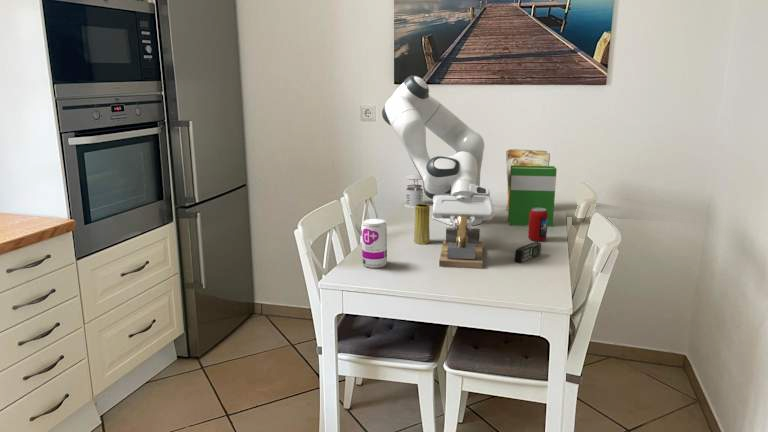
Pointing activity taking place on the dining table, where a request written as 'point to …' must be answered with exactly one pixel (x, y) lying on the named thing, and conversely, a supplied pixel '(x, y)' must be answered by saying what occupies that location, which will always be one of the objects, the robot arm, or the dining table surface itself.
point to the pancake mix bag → (525, 161)
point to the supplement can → (374, 243)
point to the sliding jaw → (461, 243)
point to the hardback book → (531, 192)
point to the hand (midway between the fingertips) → (462, 229)
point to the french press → (413, 195)
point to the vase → (422, 224)
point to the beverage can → (538, 224)
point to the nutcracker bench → (461, 261)
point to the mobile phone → (527, 252)
